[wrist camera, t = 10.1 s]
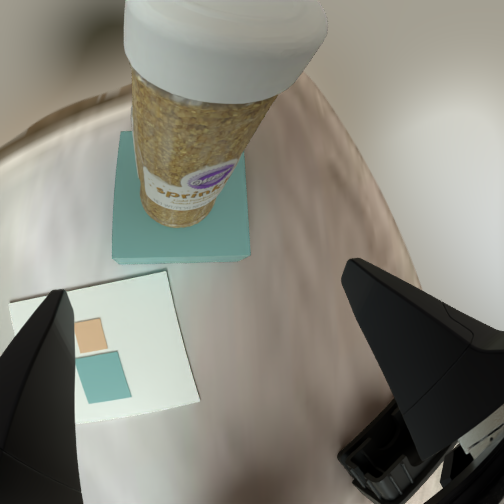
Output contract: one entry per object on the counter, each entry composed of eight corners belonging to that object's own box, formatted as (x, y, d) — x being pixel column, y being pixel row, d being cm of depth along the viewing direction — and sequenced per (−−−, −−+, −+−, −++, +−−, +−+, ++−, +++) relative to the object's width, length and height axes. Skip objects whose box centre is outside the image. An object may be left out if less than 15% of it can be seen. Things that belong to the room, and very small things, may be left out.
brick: (237, 261, 20) (250, 255, 18) (119, 264, 18) (111, 258, 15) (232, 154, 22) (242, 135, 19) (124, 152, 19) (120, 131, 16)
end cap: (358, 492, 20) (400, 521, 14) (330, 459, 20) (377, 493, 14) (423, 425, 24) (470, 440, 17) (405, 384, 23) (459, 396, 17)
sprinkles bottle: (171, 245, 16) (214, 78, 4) (125, 185, 16) (91, -27, 3) (231, 199, 18) (368, 29, 5) (186, 144, 17) (247, -56, 5)
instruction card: (200, 400, 18) (200, 401, 18) (45, 425, 14) (44, 426, 14) (166, 271, 19) (166, 271, 19) (9, 303, 15) (7, 303, 15)
